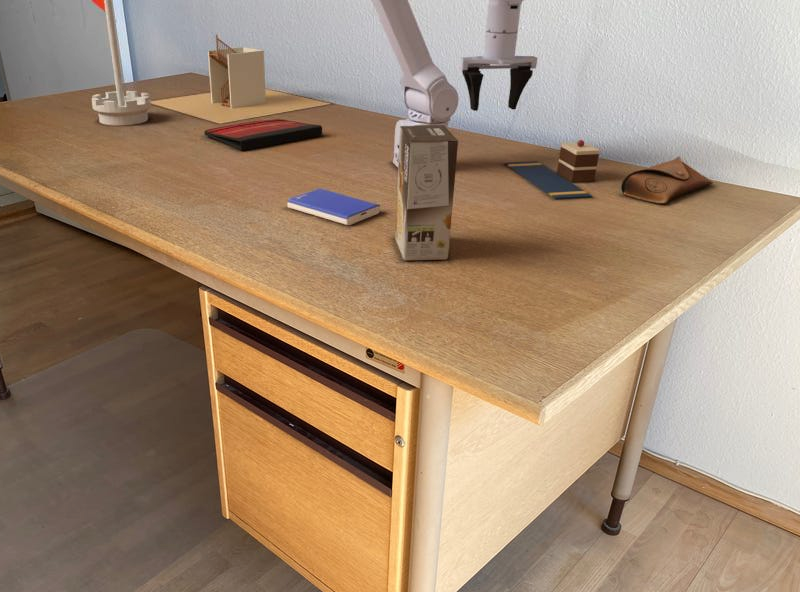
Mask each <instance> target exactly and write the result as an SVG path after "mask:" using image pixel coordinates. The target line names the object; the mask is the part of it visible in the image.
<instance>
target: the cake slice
mask: <svg viewBox="0 0 800 592" xmlns="http://www.w3.org/2000/svg"><path fill="white" fill-rule="evenodd" d="M559 150H560V151H559V156H558V162H557V169H556V170H557V171H556V174H558V175H559V176H561V177H563V178H564V179H566V180H567V181H569V182H571V183H572V184H573V183H589V182H590V183H591V182H595V179H596V174H597V167H598V164H599V163H598V162H599V157H600V151H601V150H600V149H598V148H596V147H595V146H592V145H591V144H588V143H586V142H585V141H584V140H583V139H579V140H578V141H576V142H573V141H572V142H561V143H560V149H559Z"/></svg>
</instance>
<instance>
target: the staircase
mask: <svg viewBox="0 0 800 592" xmlns="http://www.w3.org/2000/svg"><path fill="white" fill-rule="evenodd" d="M215 45H216V49H209V50H207V59H208V74H209V87H210V92H209V93H210V101H211V103H212V104H215V103H220V105H221V106H226V107H229V108H230V109H235V108H241V107H247V106H253V105H259V104H265V103H266V102H267V94H266V89H267V88H266V73H265V72H266V71H265V50H264V49H258V48H253V47H252V48H251V47H248V46H247V47H246V46H238V47H237V46H236V47H230V46H229V45H228V44H227V43H226V42H224V41H222V40H221V39H220V38H219V37H218V34H215Z"/></svg>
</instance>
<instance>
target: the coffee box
mask: <svg viewBox="0 0 800 592" xmlns="http://www.w3.org/2000/svg"><path fill="white" fill-rule="evenodd" d="M458 149H459V140H458V139H457V137H455V135H454V134H452V132H451V131H450V130H449V128H448V129H447V128H446V127H445V126H444V125H415V126H400V140H399V162H398V167H397V189H396V191H397V192H396V196H397V197H396V214H395V233H394V234H395V236H394V239H395V242H396V244H397V247H398V250H399V252H400V254H401V256H402V259H403V260H404V261H407V262H409V261H437V260H438V261H439V260H440V261H441V260H442V261H444V260H448V258H449V252H450V251H449V249H450V240H451V229H452V227H451V226H452V217H453V216H452V215H453V206H454V205H453V204H454V194H455V184H456V182H455V181H456V171H457V159H458Z"/></svg>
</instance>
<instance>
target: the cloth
mask: <svg viewBox="0 0 800 592" xmlns="http://www.w3.org/2000/svg"><path fill="white" fill-rule="evenodd" d="M504 165H505V166H507V167H508V168H510V169H511V170H513V171H514V172H515V173H517V174H518V175H519V176H521V177H523V178H524V179H526V180H527V181H528V182H529V183H531V184H532V185H534V186H536V188H539V189H540V190H541V191H543V192H544V193H546V194H547V195H548V196H550V197H551V198H553V199H554V200H566V199H567V200H569V199H584V198H586V199H587V198H588V199H589V198H592V195H591V194H590V193H588V192H587V191H585V190H583V189H582V188H580V187H578V186H577V185H576V184H573V183H571V182H570V181H568V180H567V179H565V178H563V177H562V176H560V175H559V174H557V172H555V171H553V170H552V169H550V168H548V167H547V166H545V165H544V164H542V163H541V162H539V161H537V160H533V161H532V160H531V161H509V162H505V163H504Z"/></svg>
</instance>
